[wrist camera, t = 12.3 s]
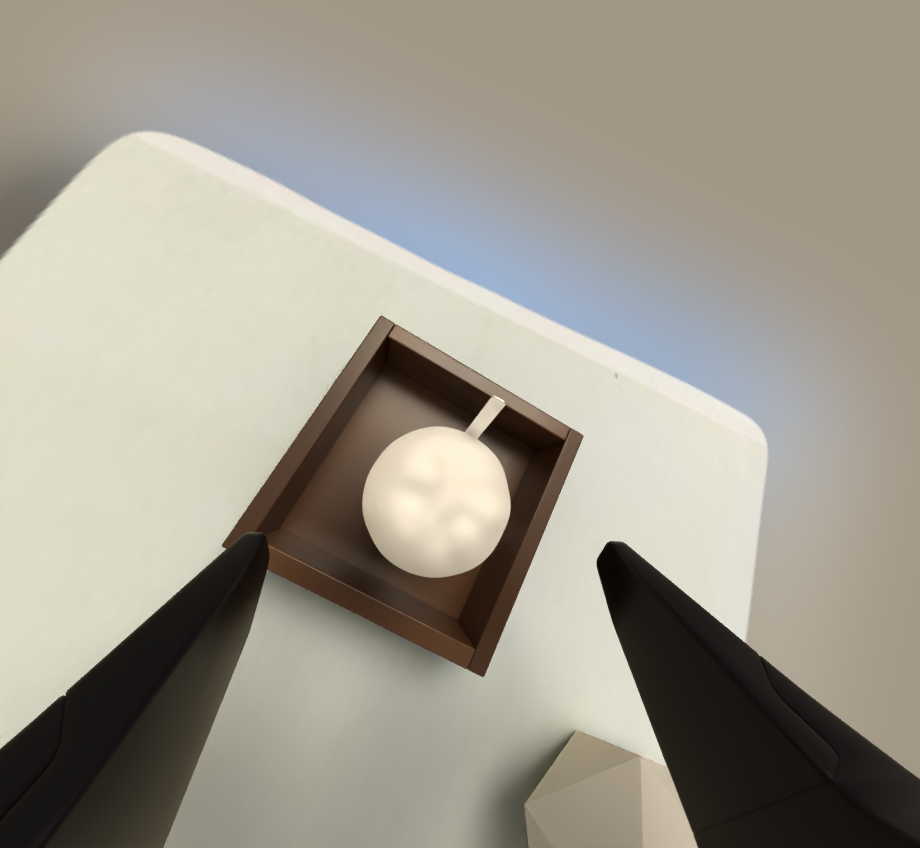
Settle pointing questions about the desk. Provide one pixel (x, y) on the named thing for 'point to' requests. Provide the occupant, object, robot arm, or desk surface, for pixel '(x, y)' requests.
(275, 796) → the desk surface
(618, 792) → the die
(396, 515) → the milkshake
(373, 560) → the open box
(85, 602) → the desk surface
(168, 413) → the desk surface
